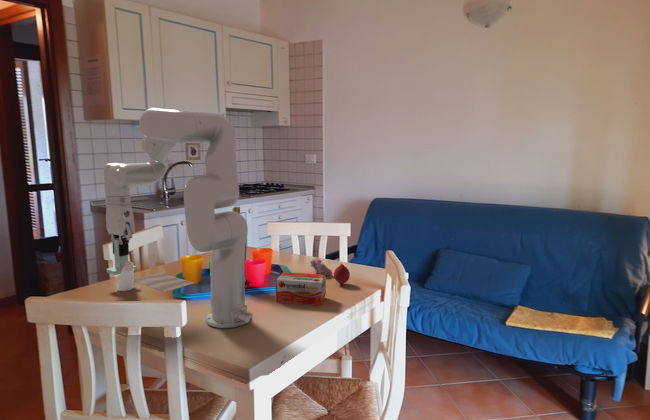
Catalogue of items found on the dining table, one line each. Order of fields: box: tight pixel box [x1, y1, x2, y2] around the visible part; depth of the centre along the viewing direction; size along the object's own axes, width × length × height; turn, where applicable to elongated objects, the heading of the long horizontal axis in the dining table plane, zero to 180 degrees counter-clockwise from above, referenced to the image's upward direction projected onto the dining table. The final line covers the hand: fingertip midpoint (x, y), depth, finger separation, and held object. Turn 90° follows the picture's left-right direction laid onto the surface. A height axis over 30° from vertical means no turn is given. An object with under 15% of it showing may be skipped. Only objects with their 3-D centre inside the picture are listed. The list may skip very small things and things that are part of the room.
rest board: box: [134, 272, 194, 293], centre depth 160 cm, size 20×12×1 cm, turn 54°
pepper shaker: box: [116, 260, 135, 292], centre depth 149 cm, size 5×5×11 cm
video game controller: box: [310, 258, 333, 277], centre depth 175 cm, size 10×5×7 cm, turn 26°
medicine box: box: [275, 271, 327, 307], centre depth 146 cm, size 15×8×8 cm, turn 81°
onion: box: [333, 262, 351, 286], centre depth 162 cm, size 6×6×8 cm
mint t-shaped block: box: [106, 238, 138, 276], centre depth 151 cm, size 5×8×11 cm, turn 144°
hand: (121, 254), depth 151 cm, fingers closed on mint t-shaped block, 3 cm apart
